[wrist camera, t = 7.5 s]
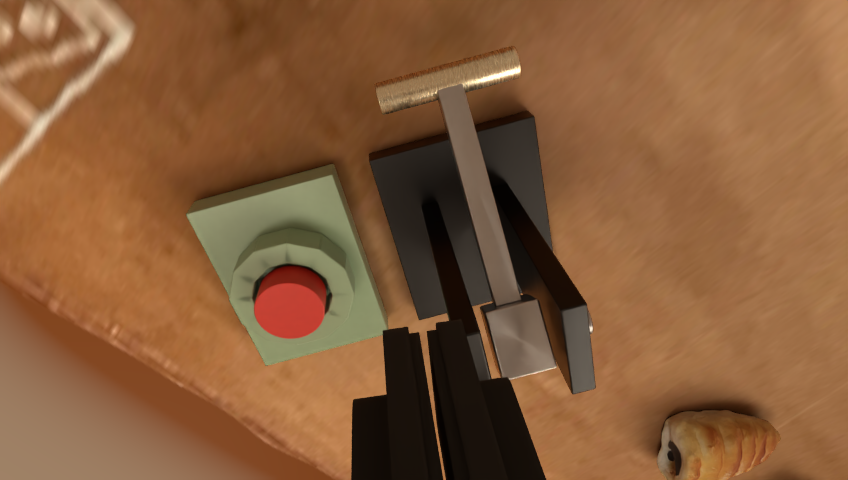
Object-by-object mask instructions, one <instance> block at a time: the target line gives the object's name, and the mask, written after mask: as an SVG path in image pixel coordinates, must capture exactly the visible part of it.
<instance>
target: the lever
mask: <svg viewBox="0 0 848 480" xmlns="http://www.w3.org/2000/svg"><path fill="white" fill-rule="evenodd" d="M520 75H521V65H520V59H519V55H518V52H517V50H516V48H515V47H514V46H509V47H506V48H502V49H499V50H495V51H491V52H488V53H484V54H480V55H477V56H473V57H469V58H466V59H462V60H459V61H455V62H451V63H448V64H444V65H440V66H437V67H433V68H429V69H426V70H422V71H418V72H415V73H411V74H408V75H404V76H400V77H397V78H393V79H389V80H386V81H382V82H378V83H375V84H374V87H375V91H376V95H377V99H378V102H379V106H380V109H381V112H382V114H383V115H385V114H389V113H392V112H396V111H400V110H403V109H407V108H411V107H414V106H418V105H422V104H425V103H429V102H433V101H436V100H438V102H439V106H440V109H441V113H442V117H443V120H444V124H445V128H446V132H447V135H448V139H449V143H450V146H451V150H452V154H453V157H454V161H455V165H456V169H457V172H458V176H459V180H460V183H461V187H462V191H463V194H464V198H465V202H466V206H467V209H468V213H469V217H470V220H471V224H472V228H473V231H474V235H475V239H476V243H477V246H478V250H479V254H480V257H481V261H482V265H483V268H484V272H485V276H486V280H487V283H488V287H489V291H490V294H491V298H492V302H493V303H491V304H487V305H484V306H481V307H480V310H481V314H482V318H483V321H484V325H485V329H486V333H487V336H488V340H489V344H490V347H491V351H492V355H493V359H494V362H495V366H496V368H497V370H498V372H499V374H500V376H501V378H503V377H508V378H509V380H512V379H516V378H519V377H523V376H527V375H531V374H535V373H539V372H542V371H546V370H550V369H554V368H556V367H557V365H556V361H555V357H554V354H553V350H552V346H551V343H550V339H549V335H548V332H547V328H546V324H545V321H544V317H543V313H542V310H541V306H540V302H539V300H538V299H537V298H535V297H533V296H530V295H528V294H525V295H520V291H519V287H518V284H517V280H516V276H515V273H514V269H513V265H512V262H511V258H510V254H509V251H508V247H507V243H506V240H505V236H504V232H503V229H502V225H501V221H500V218H499V214H498V210H497V207H496V203H495V199H494V196H493V192H492V188H491V185H490V181H489V177H488V174H487V170H486V166H485V162H484V159H483V155H482V151H481V148H480V144H479V140H478V137H477V133H476V129H475V126H474V122H473V118H472V115H471V111H470V107H469V104H468V100H467V96H466V92H469V91H473V90H477V89H480V88H484V87H488V86H491V85H495V84H499V83H502V82H506V81H509V80H513V79H517V78H519V77H520Z"/></svg>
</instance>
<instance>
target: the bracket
mask: <svg viewBox="0 0 848 480" xmlns="http://www.w3.org/2000/svg"><path fill="white" fill-rule="evenodd" d="M474 126H475V129H476V133H477V137H478V140H479V144H480V148H481V151H482V155H483V159H484V162H485V166H486V170H487V174H488V177H489V181H490V185H491V188H492V192H493V196H494V199H495V203H496V207H497V210H498V214H499V218H500V221H501V225H502V229H503V232H504V236H505V240H506V243H507V247H508V251H509V254H510V258H511V262H512V265H513V269H514V273H515V276H516V280H517V284H518V287H519V291H520V293H523V295H525V294H528V295H530V296H533V297H535V298H537V299H538V300H539V302H540V306H541V310H542V313H543V317H544V321H545V324H546V328H547V332H548V335H549V339H550V343H551V346H552V350H553V354H554V357H555V360H556V362H557V364H558V366H559V368H560V370H561V372H562V374H563V377H564V379H565V381H566V383H567V385H568V387H569V389H570V391H571V393H572V394H577V393H580V392H584V391H588V390H592V389H595V388H596V385H595V376H594V366H593V357H592V348H591V338H590V334H592V333H593V324H592V319H591V316H590V313H589V311H588V308H587V303H586V302H585V300H584V299H583V297H582V296H581V294H580V293H579V291H578V290H577V288H576V287H575V285H574V284H573V282H572V281H571V279H570V278H569V276H568V275H567V273H566V272H565V270H564V268H563V267H562V265H561V264H560V262H559V261H558V259H557V258H556V256H555V255H554V253H553V249H552V242H551V235H550V227H549V220H548V213H547V206H546V198H545V191H544V184H543V177H542V169H541V162H540V155H539V148H538V141H537V133H536V126H535V119H534V116H533V115H532V114H531V113H530V112H529V111H525V112H521V113H517V114H514V115H510V116H506V117H503V118H499V119H495V120H492V121H488V122H484V123H481V124H477V125H474ZM369 162H370V165H371V168H372V172H373V175H374V178H375V181H376V184H377V188H378V191H379V194H380V197H381V200H382V204H383V207H384V210H385V213H386V216H387V219H388V223H389V226H390V229H391V232H392V235H393V239H394V242H395V245H396V248H397V251H398V255H399V258H400V261H401V264H402V267H403V271H404V274H405V277H406V280H407V283H408V287H409V290H410V293H411V296H412V299H413V302H414V306H415V309H416V312H417V315H418V318H419V320H422V319H426V318H430V317H433V316H437V315H441V314H445V313H447V314H448V318H449V321H453V320H460V319H461V320H462V322H463V325H464V329H465V332H466V336H467V339H468V343H469V346H470V350H471V353H472V356H473V360H474V363H475V367H476V370H477V374H478V377H479V381H482V380H489V379H491V375H490V371H489V366H488V362H487V358H486V354H485V350H484V346H483V342H482V338H481V333H480V330H479V327H478V324H477V321H476V318H475V315H474V311H473V308H472V306H475V305H479V304H483V303H486V302H490V301H492V298H491V294H490V291H489V287H488V283H487V280H486V276H485V272H484V268H483V265H482V261H481V257H480V254H479V250H478V246H477V243H476V239H475V235H474V231H473V228H472V224H471V220H470V217H469V213H468V209H467V206H466V202H465V198H464V194H463V191H462V187H461V183H460V180H459V176H458V172H457V169H456V165H455V161H454V157H453V154H452V150H451V146H450V143H449V139H448V135H447V133H444V134H440V135H437V136H433V137H429V138H426V139H422V140H418V141H414V142H411V143H407V144H403V145H400V146H396V147H392V148H389V149H385V150H381V151H378V152H374V153H370V154H369Z"/></svg>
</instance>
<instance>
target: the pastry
mask: <svg viewBox="0 0 848 480" xmlns="http://www.w3.org/2000/svg"><path fill="white" fill-rule="evenodd" d="M780 439H781V437H780V434H779V433H778V431H777V430H776V429H775V428H774V427H773V426H772V425H771V424H770V423H769V422H768V421H766V420H762V419H759V418H756V417H753V416H747V415H745V414H742V413H741V414H737V413H733V412H731V411H729V410H722V411H719V410H703V411H702V412H694V411H685V412H681V413H679V414H676V415H674V416H672V417H670V418H668V419H667V420H666V421H665V424H664V428H663V431H662V439H661V441H662V447H661V449H660V451H659V454H658V457H657V464H658V467H659V469H660V471H661V473H662V474H663V476H664V477H665V478H666V479H667V480H727V479H728V478H729V477H733V476H736V475H739V474H741V473H742V472H747V471H750V470H752V469H753V467H754V466H756V465H758V464H760V463H762V462H764V461H765V460H766V459H767V458H768V457H769V455H770V454H771V453H772V451H774V449H775V447H776V445H777V444H778V443H779V441H780Z"/></svg>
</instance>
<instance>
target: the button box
mask: <svg viewBox="0 0 848 480" xmlns="http://www.w3.org/2000/svg"><path fill="white" fill-rule="evenodd" d="M186 216H187V218H188V220H189V221H190V223H191V225H192V227H193V229H194V231H195V233H196V235H197V237H198V238H199V240H200V242H201V244H202V246H203V248H204V250H205V252H206V254H207V255H208V257H209V259H210V261H211V263H212V265H213V267H214V269H215V271H216V272H217V274H218V276H219V278H220V280H221V282H222V284H223V286H224V288H225V289H226V291H227V293H228V295H229V301H230V303H231V305H232V307H233V308H234V310H235V312H236V314H237V316H238V318H239V320H240V322H241V323H242V324H243V325H244V326H245V327H246V329H247V331H248V333H249V335H250V337H251V338H252V340H253V342H254V344H255V346H256V348H257V350H258V352H259V354H260V355H261V357H262V359H263V361H264V363H265V365H266V366H267V365H271V364H275V363H279V362H283V361H286V360H290V359H294V358H298V357H301V356H305V355H309V354H313V353H317V352H320V351H324V350H328V349H332V348H335V347H339V346H343V345H347V344H351V343H354V342H358V341H362V340H366V339H369V338H373V337H377V336H381V335H383V330H388V318H387V314H386V312H385V309H384V306H383V303H382V300H381V297H380V294H379V292H378V289H377V286H376V283H375V280H374V277H373V274H372V272H371V269H370V266H369V263H368V260H367V257H366V254H365V252H364V249H363V246H362V243H361V240H360V237H359V235H358V232H357V229H356V226H355V223H354V220H353V217H352V215H351V212H350V209H349V206H348V203H347V200H346V197H345V195H344V192H343V189H342V186H341V183H340V180H339V177H338V175H337V172H336V169H335V166H334V164H330V165H326V166H323V167H319V168H315V169H312V170H308V171H304V172H301V173H297V174H293V175H290V176H286V177H282V178H279V179H275V180H271V181H267V182H264V183H260V184H256V185H253V186H249V187H245V188H242V189H238V190H234V191H231V192H227V193H223V194H220V195H216V196H212V197H209V198H205V199H201V200H198V201H195V202H194V203H193V204H192V206H191V207H190V209H189V210H188V212H187V213H186ZM283 266H300V267H304V268H307V269H309V270H311V271H313V272H314V273H315V274H317V275H318V276H319V277H320V278H321V280H322V281H323V283H324V285H325V288H326V305H325V314H324V319H323V321H322V323H321V325H320V326H319V327H318V328H317V329H316V330H315V331H314V332H312V333H311V334H309V335H307V336H304V337H301V338H295V339H286V338H280V337H277V336H274V335H272V334H270V333H268V332H267V331H265V330H264V329H263V328H262V327H261V326H260V325H259V323H258V322H257V320H256V317H255V314H254V304H255V301H256V297H257V294H258V291H259V287H260V284H261V282H262V280H263V279H264V277H265V276H266V275H267V274H268V273H269V272H271V271H273V270H274V269H277V268H279V267H283Z"/></svg>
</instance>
